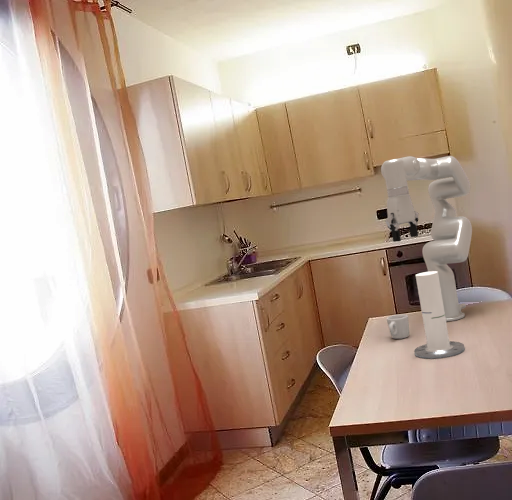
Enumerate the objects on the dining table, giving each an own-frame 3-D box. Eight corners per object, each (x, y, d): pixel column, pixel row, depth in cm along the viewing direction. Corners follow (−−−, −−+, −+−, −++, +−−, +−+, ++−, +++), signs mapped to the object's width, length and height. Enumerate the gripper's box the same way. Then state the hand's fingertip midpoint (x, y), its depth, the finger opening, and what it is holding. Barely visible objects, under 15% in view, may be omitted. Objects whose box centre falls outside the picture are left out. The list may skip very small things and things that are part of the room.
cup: (403, 342, 225) (399, 320, 224) (383, 342, 230) (379, 321, 229) (414, 334, 233) (411, 313, 233) (395, 334, 238) (391, 314, 238)
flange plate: (435, 343, 216) (434, 339, 216) (474, 346, 203) (474, 342, 203) (404, 356, 206) (404, 352, 206) (444, 360, 193) (443, 356, 193)
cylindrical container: (432, 344, 210) (420, 272, 208) (453, 344, 205) (440, 270, 204) (424, 350, 204) (412, 276, 202) (445, 350, 200) (433, 274, 198)
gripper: (405, 191, 234) (413, 235, 236) (374, 197, 224) (382, 243, 226) (421, 188, 228) (429, 234, 230) (390, 194, 218) (398, 242, 220)
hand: (405, 239), depth 228 cm, fingers open, 9 cm apart
